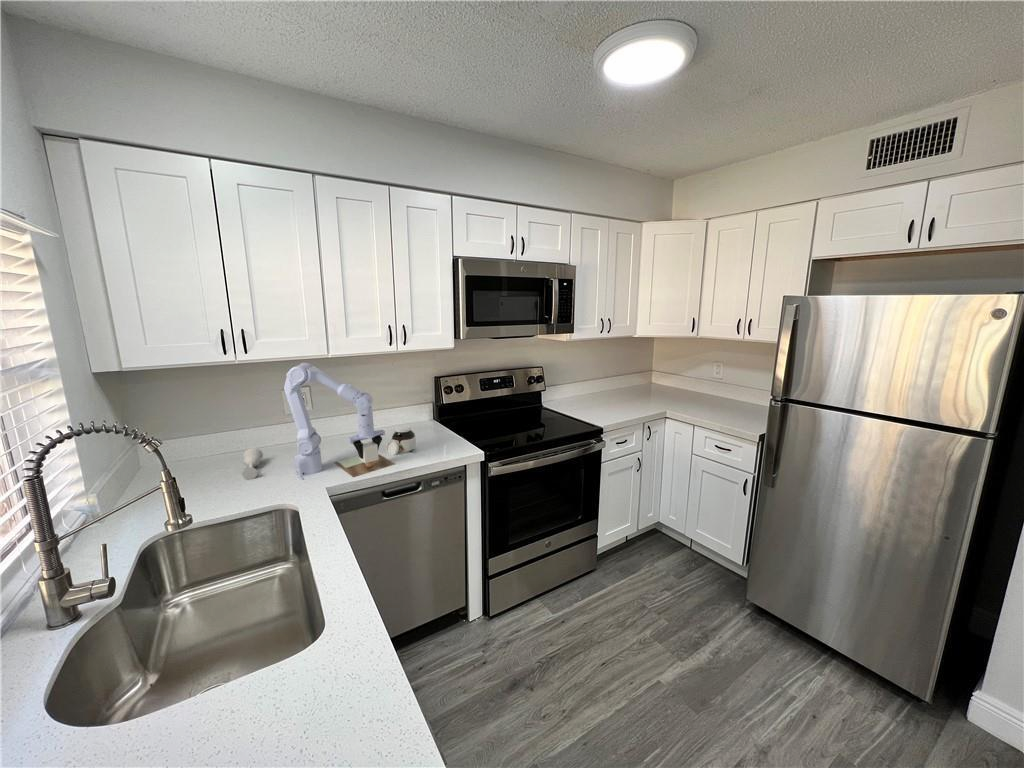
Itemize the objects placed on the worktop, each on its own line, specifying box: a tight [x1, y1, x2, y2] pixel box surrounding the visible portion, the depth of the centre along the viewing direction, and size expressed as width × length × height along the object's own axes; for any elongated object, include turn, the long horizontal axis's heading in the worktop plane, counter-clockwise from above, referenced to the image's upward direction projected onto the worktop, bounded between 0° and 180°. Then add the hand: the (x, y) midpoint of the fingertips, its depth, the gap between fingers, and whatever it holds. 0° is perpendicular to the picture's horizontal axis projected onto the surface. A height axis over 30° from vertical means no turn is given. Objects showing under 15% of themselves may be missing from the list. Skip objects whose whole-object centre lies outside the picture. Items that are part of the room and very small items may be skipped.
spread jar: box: [385, 424, 417, 456], centre depth 186 cm, size 12×11×12 cm
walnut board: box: [333, 453, 396, 478], centre depth 173 cm, size 18×20×1 cm
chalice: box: [241, 447, 264, 480], centre depth 169 cm, size 7×7×18 cm
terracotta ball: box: [366, 461, 373, 467], centre depth 169 cm, size 3×3×3 cm
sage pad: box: [336, 455, 364, 468], centre depth 175 cm, size 9×9×1 cm
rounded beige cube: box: [359, 440, 379, 463], centre depth 168 cm, size 6×6×6 cm
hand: (368, 455), depth 169 cm, fingers closed on rounded beige cube, 6 cm apart
